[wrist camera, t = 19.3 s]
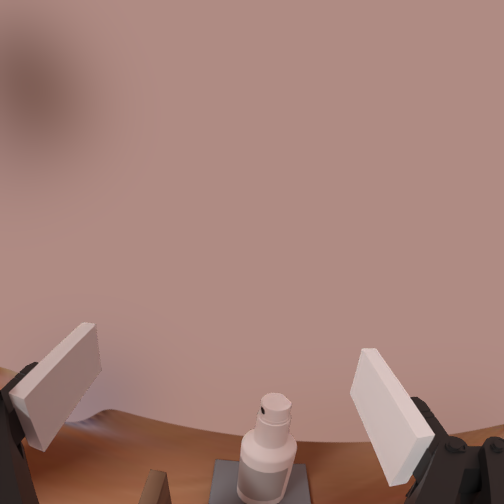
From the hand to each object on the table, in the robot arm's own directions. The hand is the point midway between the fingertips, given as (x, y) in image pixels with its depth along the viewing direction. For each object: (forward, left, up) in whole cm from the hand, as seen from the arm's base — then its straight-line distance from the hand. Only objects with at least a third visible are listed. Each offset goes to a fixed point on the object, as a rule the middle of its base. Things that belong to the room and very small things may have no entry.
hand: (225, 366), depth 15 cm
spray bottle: (+5, +15, -32) cm, 36 cm away
